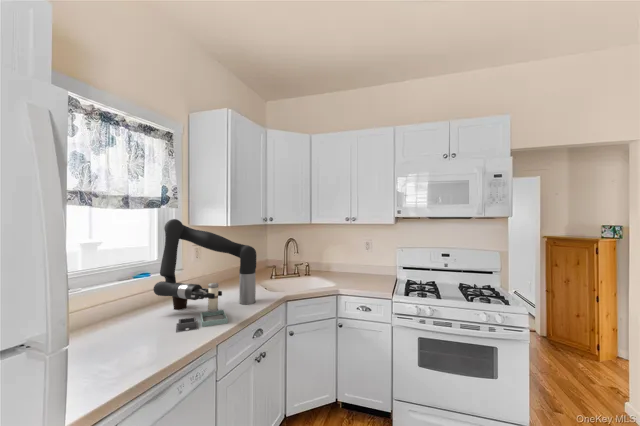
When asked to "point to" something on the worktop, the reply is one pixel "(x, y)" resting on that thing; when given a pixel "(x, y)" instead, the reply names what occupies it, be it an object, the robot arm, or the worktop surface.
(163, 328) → the worktop surface
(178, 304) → the coffee mug
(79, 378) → the worktop surface
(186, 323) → the fuse holder
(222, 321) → the parts tray
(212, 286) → the cylinder
